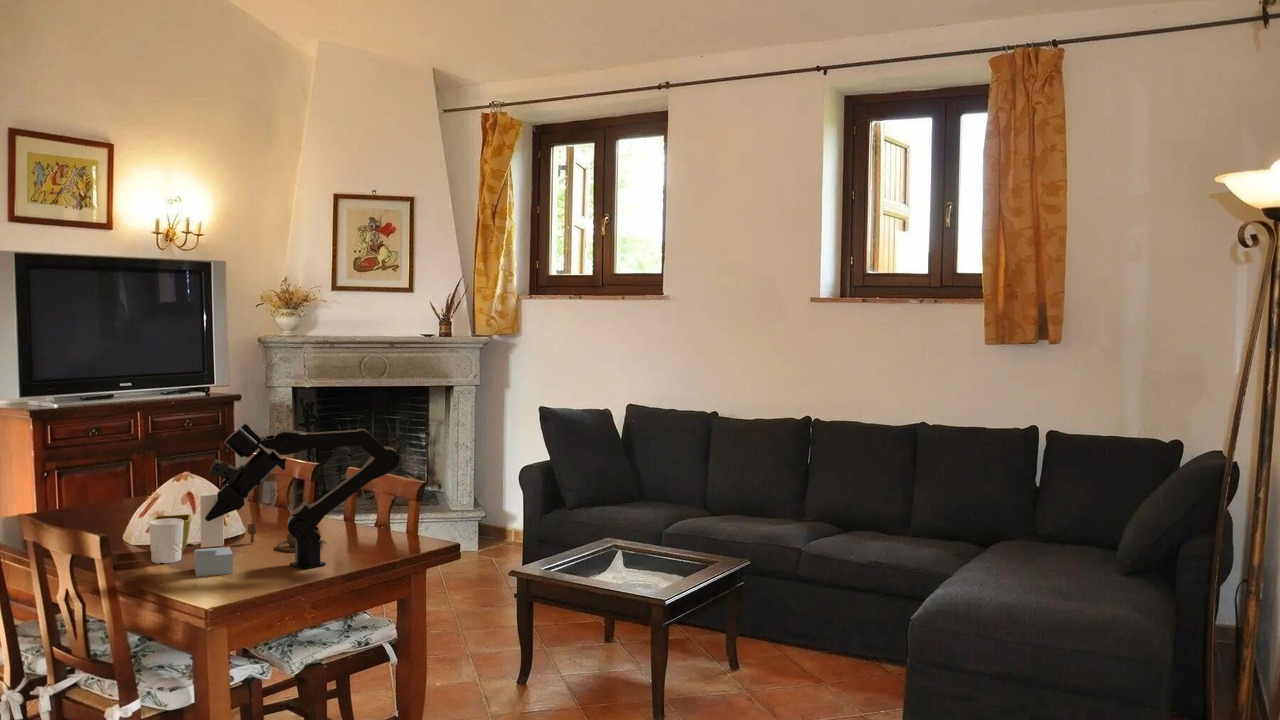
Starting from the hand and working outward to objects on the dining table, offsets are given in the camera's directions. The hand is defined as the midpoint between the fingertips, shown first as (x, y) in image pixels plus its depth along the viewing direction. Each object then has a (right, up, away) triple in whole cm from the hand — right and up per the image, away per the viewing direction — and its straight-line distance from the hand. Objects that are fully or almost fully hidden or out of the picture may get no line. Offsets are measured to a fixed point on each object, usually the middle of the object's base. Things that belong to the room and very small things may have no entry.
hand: (206, 517), depth 240 cm
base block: (+1, -13, +1) cm, 14 cm away
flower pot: (-18, -12, +19) cm, 29 cm away
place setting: (+10, -13, +30) cm, 34 cm away
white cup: (-15, -13, +10) cm, 22 cm away
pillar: (+1, -7, +1) cm, 7 cm away
